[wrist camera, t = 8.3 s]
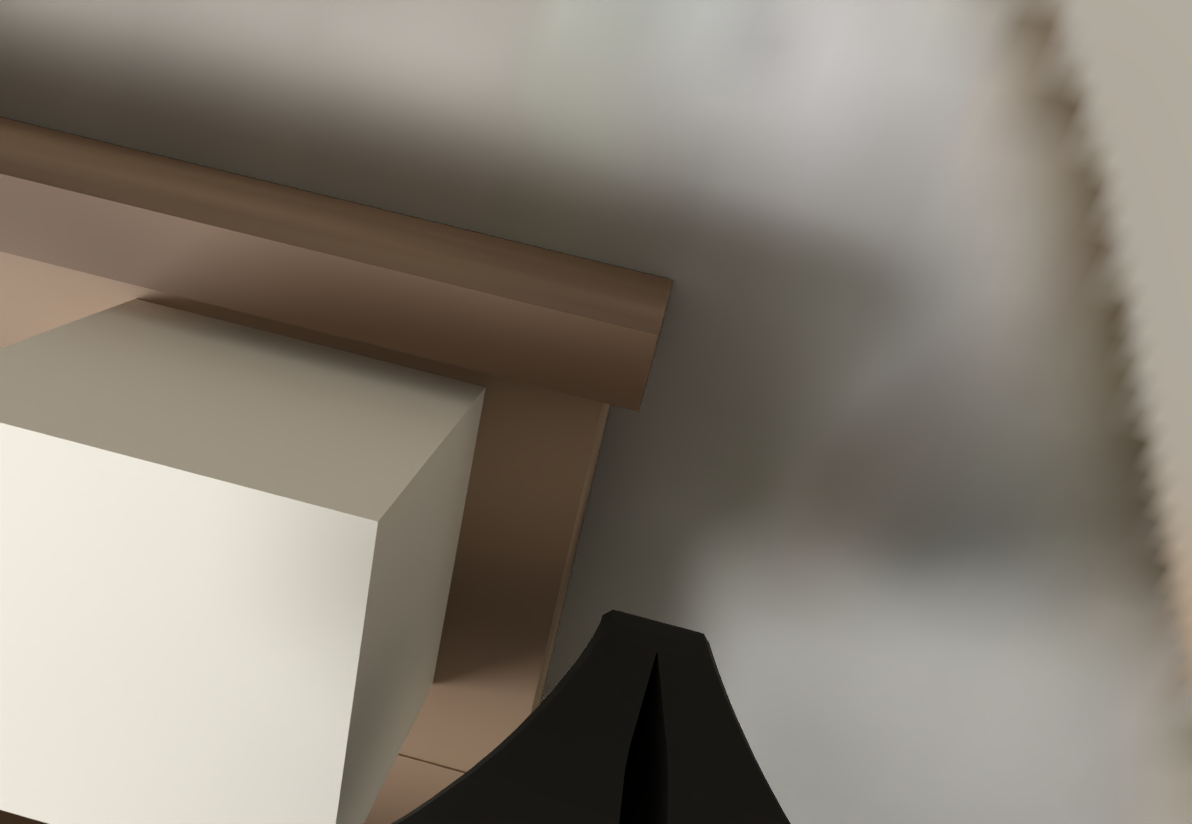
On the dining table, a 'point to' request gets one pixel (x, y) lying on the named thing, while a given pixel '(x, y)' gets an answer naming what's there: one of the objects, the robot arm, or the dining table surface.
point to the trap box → (380, 331)
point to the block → (217, 569)
